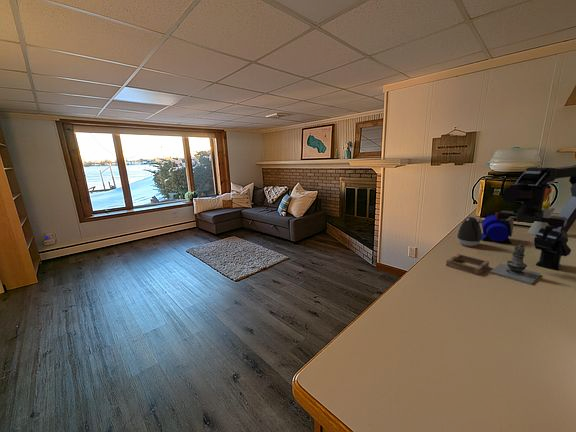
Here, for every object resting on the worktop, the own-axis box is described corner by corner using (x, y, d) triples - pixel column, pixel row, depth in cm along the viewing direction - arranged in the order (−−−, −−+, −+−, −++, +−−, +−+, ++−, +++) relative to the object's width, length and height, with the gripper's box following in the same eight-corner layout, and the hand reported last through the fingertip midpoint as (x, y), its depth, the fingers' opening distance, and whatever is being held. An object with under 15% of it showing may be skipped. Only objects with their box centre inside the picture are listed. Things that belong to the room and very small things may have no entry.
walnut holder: (457, 258, 110) (458, 253, 109) (488, 267, 101) (489, 261, 100) (446, 265, 104) (446, 260, 103) (477, 275, 95) (478, 269, 94)
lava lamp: (523, 230, 143) (533, 171, 135) (541, 231, 141) (552, 171, 133) (534, 235, 134) (547, 172, 126) (554, 235, 132) (567, 172, 124)
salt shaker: (529, 276, 90) (535, 246, 88) (511, 275, 92) (516, 246, 89) (518, 269, 96) (523, 241, 93) (501, 268, 97) (506, 240, 95)
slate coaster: (500, 264, 102) (500, 263, 102) (540, 275, 92) (540, 273, 92) (490, 273, 96) (490, 271, 96) (531, 284, 86) (531, 282, 86)
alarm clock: (507, 238, 132) (511, 212, 129) (512, 245, 122) (517, 217, 119) (479, 235, 139) (483, 210, 135) (482, 242, 129) (486, 215, 125)
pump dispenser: (474, 249, 119) (478, 220, 116) (452, 244, 128) (455, 216, 125) (484, 245, 124) (489, 217, 120) (462, 240, 133) (466, 213, 129)
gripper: (494, 200, 95) (488, 237, 98) (564, 206, 79) (555, 250, 83) (504, 197, 101) (498, 232, 104) (571, 202, 85) (562, 243, 89)
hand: (525, 239), depth 95 cm, fingers open, 9 cm apart
